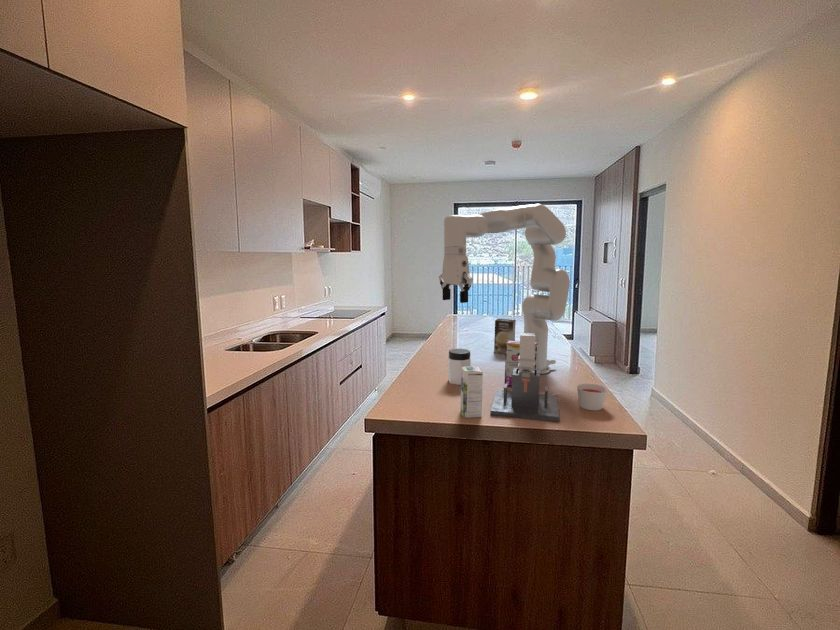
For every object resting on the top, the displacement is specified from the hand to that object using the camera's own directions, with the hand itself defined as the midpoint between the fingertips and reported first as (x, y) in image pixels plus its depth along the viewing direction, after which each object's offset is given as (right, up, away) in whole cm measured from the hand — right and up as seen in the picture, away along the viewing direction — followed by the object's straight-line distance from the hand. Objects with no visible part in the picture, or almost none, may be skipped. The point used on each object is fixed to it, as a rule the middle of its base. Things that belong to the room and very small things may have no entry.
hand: (455, 301), depth 152 cm
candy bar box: (+25, -31, +8) cm, 41 cm away
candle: (+42, -35, -13) cm, 56 cm away
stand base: (+21, -34, -13) cm, 43 cm away
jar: (+3, -31, +13) cm, 33 cm away
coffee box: (+29, -23, +59) cm, 70 cm away
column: (+21, -33, -13) cm, 41 cm away
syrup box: (+3, -36, -19) cm, 40 cm away
